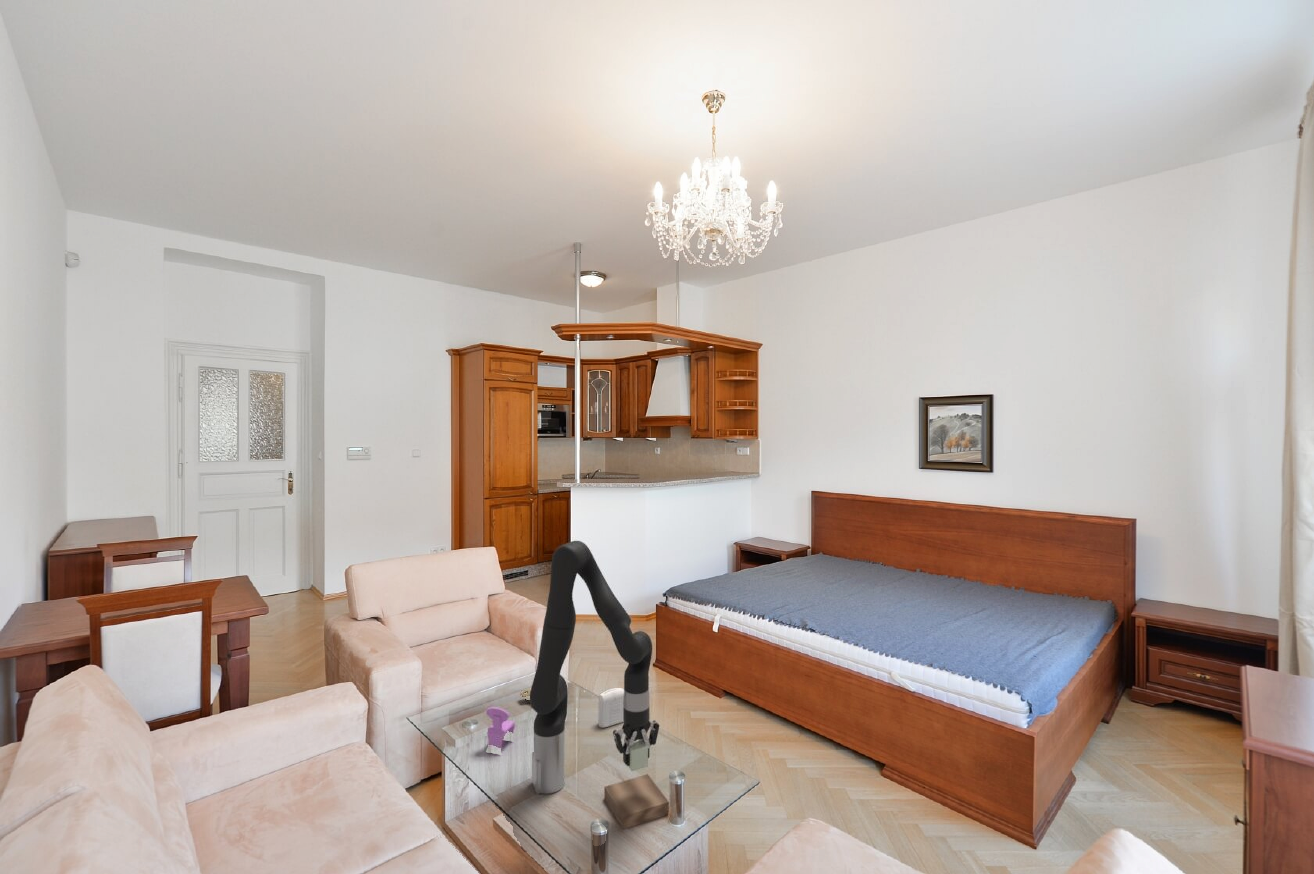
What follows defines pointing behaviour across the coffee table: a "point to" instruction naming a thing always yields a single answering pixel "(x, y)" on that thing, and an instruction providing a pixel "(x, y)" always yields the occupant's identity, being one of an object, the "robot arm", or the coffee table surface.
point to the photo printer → (610, 707)
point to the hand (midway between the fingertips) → (636, 761)
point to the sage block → (638, 755)
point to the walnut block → (636, 801)
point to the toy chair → (498, 726)
